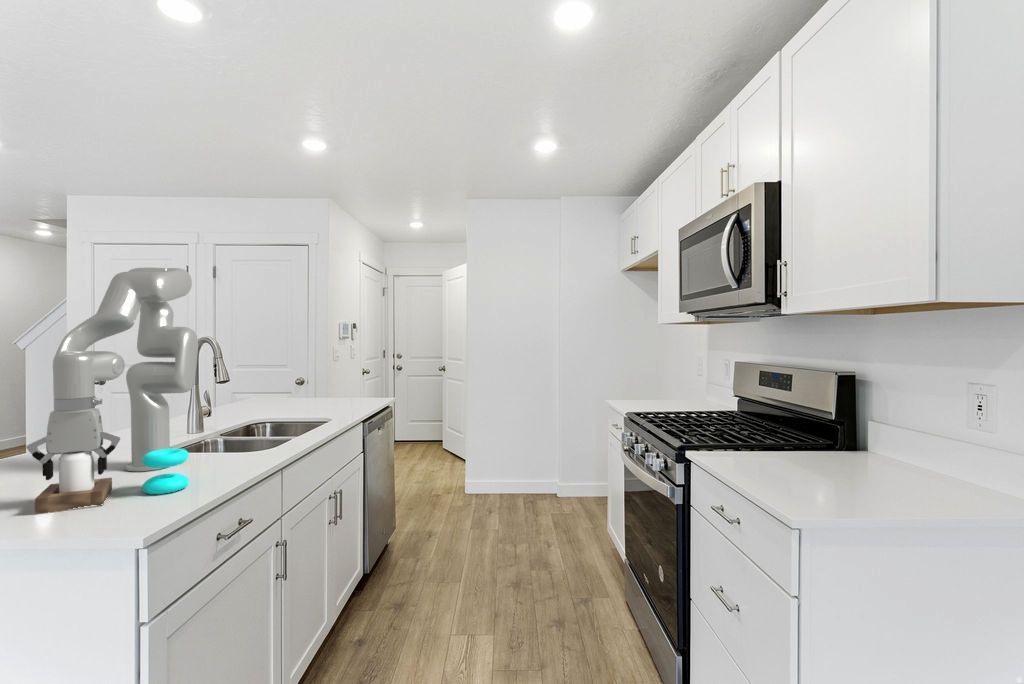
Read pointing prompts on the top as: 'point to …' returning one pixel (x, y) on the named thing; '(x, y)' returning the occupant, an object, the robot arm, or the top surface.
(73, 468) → the can
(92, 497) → the socket block
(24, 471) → the top surface
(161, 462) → the donuts
